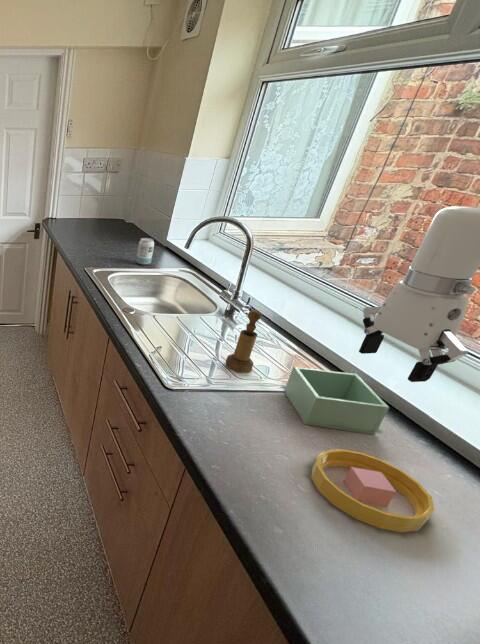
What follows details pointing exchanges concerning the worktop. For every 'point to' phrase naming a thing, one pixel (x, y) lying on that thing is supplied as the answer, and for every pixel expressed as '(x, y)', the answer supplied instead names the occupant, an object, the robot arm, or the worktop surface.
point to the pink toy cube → (369, 486)
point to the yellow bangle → (364, 512)
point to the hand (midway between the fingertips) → (390, 366)
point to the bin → (335, 400)
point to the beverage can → (145, 251)
